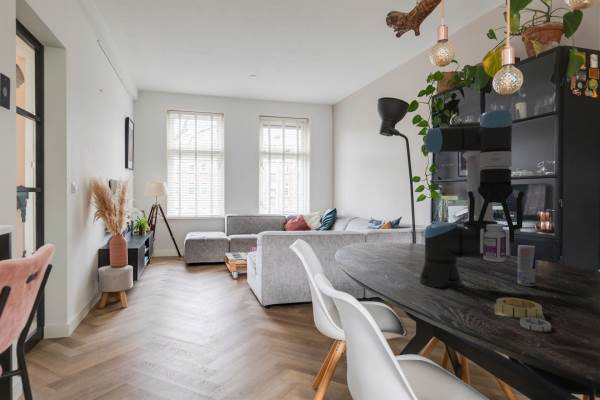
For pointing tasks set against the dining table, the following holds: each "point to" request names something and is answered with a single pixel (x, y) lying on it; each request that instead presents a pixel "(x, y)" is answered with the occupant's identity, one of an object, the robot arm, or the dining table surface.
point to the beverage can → (526, 265)
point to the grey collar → (535, 324)
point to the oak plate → (511, 316)
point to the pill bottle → (494, 243)
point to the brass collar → (518, 308)
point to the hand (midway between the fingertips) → (494, 253)
